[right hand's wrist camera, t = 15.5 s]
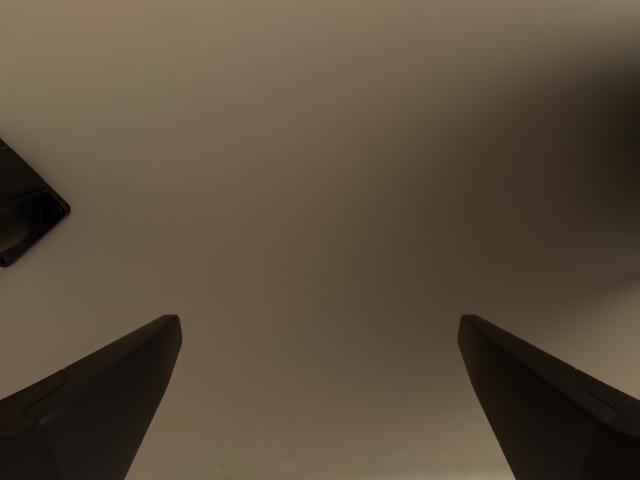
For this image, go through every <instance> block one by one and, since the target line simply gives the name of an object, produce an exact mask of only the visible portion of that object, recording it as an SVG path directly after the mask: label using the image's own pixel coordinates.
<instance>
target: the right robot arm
mask: <svg viewBox="0 0 640 480" xmlns="http://www.w3.org/2000/svg"><path fill="white" fill-rule="evenodd" d="M58 207H60V208H61V209H62V212H60V211H59V209H58ZM70 212H71V209H70V206H69V205H68V204H67V203H66V202H65V201H64V200H63V199H62V198H61V197H60V196H59V195H58V194H57V193H56V192H55V191H54V190H53V189H52V188H51V187H50V186H49V185H48V184H47V183H46V182H45V181H44V180H43V179H42V178H41V177H40V176H39V175H38V174H37V173H36V172H35V171H34V170H33V169H32V168H31V167H30V166H29V165H28V164H27V163H26V162H25V161H24V160H23V159H22V158H21V157H20V156H19V155H18V154H17V153H16V152H15V151H14V150H13V149H11V148H10V147H9V146H8V145H7V144H6V143H5V142H4V141H3V140H2V139H1V138H0V266H1V267H8V266H10V265H12V264H14V263H15V262H16V261H17V260H19V259H20V258H21V257H22V256H23V255H24V254H25V253H26V252H28V251H29V250H30V249H31V248H32V247H33V246H34V245H36V244H37V243H38V242H39V241H40V240H41V239H42V238H43V237H45V236H46V235H47V234H48V233H49V232H50V231H51V230H52V229H54V228H55V227H56V226H57V225H58V224H59V223H60V222H61V221H63V220H64V219H65V218H66V217H67V216H68V215H69V214H70ZM4 258H5V259H6V260H7V261H6V260H5V259H4ZM181 345H182V331H181V325H180V319H179V317H178V315H163V316H161V317H159V318H158V319H156V320H154V321H152V322H150V323H148V324H146V325H144V326H142V327H141V328H139V329H137V330H135V331H133V332H131V333H129V334H127V335H126V336H124V337H122V338H120V339H118V340H116V341H114V342H112V343H111V344H109V345H107V346H105V347H103V348H101V349H99V350H97V351H96V352H94V353H92V354H90V355H88V356H86V357H84V358H82V359H80V360H79V361H77V362H75V363H73V364H71V365H69V366H67V367H66V368H65V370H64V369H62V370H60V371H58V372H56V373H54V374H52V375H50V376H48V377H46V378H45V379H43V380H41V381H39V382H37V383H35V384H33V385H31V386H29V387H27V388H25V389H23V390H21V391H18V392H16V393H14V394H12V395H10V396H8V397H6V398H4V399H2V400H0V480H124V479H125V477H126V475H127V472H128V470H129V468H130V466H131V464H132V462H133V460H134V457H135V455H136V453H137V451H138V449H139V447H140V445H141V442H142V440H143V438H144V436H145V434H146V432H147V430H148V427H149V425H150V423H151V421H152V419H153V417H154V415H155V412H156V410H157V408H158V406H159V404H160V402H161V400H162V397H163V395H164V393H165V391H166V389H167V386H168V384H169V381H170V378H171V375H172V372H173V369H174V366H175V363H176V360H177V357H178V354H179V351H180V348H181ZM458 345H459V348H460V351H461V354H462V357H463V360H464V363H465V366H466V369H467V372H468V375H469V378H470V381H471V384H472V386H473V388H474V391H475V393H476V395H477V397H478V400H479V402H480V404H481V406H482V408H483V410H484V412H485V415H486V417H487V419H488V421H489V423H490V425H491V427H492V430H493V432H494V434H495V436H496V438H497V440H498V442H499V445H500V447H501V449H502V451H503V453H504V455H505V457H506V460H507V462H508V464H509V466H510V468H511V470H512V472H513V475H514V477H515V479H516V480H640V400H638V399H636V398H634V397H632V396H630V395H628V394H626V393H624V392H622V391H619V390H617V389H615V388H613V387H611V386H609V385H607V384H605V383H603V382H601V381H599V380H597V379H595V378H594V377H592V376H590V375H588V374H586V373H584V372H582V371H580V370H578V369H576V370H575V368H574V367H573V366H571V365H569V364H567V363H565V362H563V361H561V360H560V359H558V358H556V357H554V356H552V355H550V354H548V353H546V352H544V351H543V350H541V349H539V348H537V347H535V346H533V345H531V344H529V343H528V342H526V341H524V340H522V339H520V338H518V337H516V336H514V335H513V334H511V333H509V332H507V331H505V330H503V329H501V328H499V327H498V326H496V325H494V324H492V323H490V322H488V321H486V320H484V319H482V318H481V317H479V316H477V315H462V317H461V319H460V325H459V331H458Z"/></svg>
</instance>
